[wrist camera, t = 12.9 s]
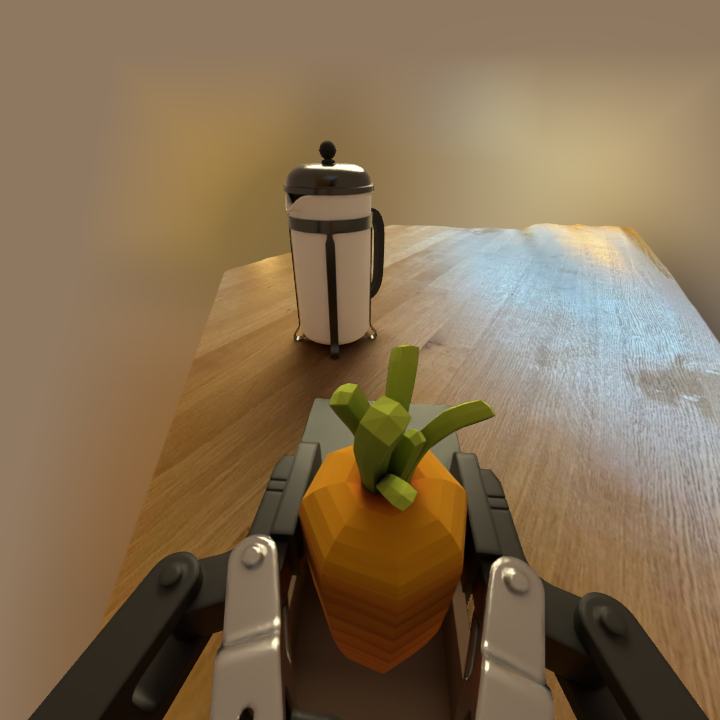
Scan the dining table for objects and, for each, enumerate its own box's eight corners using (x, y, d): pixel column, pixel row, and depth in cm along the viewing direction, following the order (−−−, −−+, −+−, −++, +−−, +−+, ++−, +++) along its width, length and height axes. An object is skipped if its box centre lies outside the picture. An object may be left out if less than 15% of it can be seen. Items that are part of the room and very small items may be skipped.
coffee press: (383, 360, 54) (394, 138, 38) (285, 359, 54) (255, 138, 38) (381, 316, 68) (388, 142, 52) (304, 315, 69) (287, 142, 53)
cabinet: (464, 613, 24) (484, 558, 20) (283, 595, 25) (268, 539, 21) (440, 458, 37) (450, 405, 33) (319, 450, 38) (314, 397, 34)
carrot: (369, 565, 18) (375, 304, 10) (452, 640, 15) (551, 360, 7) (297, 653, 15) (224, 372, 7) (386, 769, 12) (435, 520, 4)
